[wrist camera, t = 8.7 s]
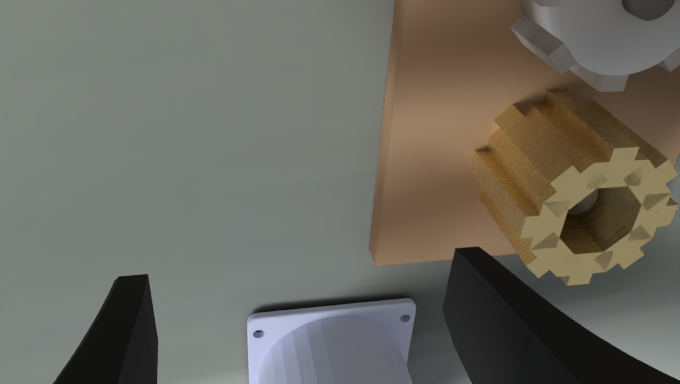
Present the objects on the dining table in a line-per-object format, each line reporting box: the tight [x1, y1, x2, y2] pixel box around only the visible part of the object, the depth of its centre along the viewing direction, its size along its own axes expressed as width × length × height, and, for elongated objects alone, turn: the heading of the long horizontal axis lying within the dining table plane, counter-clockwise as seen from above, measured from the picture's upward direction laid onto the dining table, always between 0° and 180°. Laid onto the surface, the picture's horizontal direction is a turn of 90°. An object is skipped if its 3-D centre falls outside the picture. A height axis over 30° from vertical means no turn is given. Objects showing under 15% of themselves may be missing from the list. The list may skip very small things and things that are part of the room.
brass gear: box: [471, 89, 679, 286], centre depth 23 cm, size 6×6×4 cm
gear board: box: [369, 0, 680, 266], centre depth 21 cm, size 18×13×5 cm
